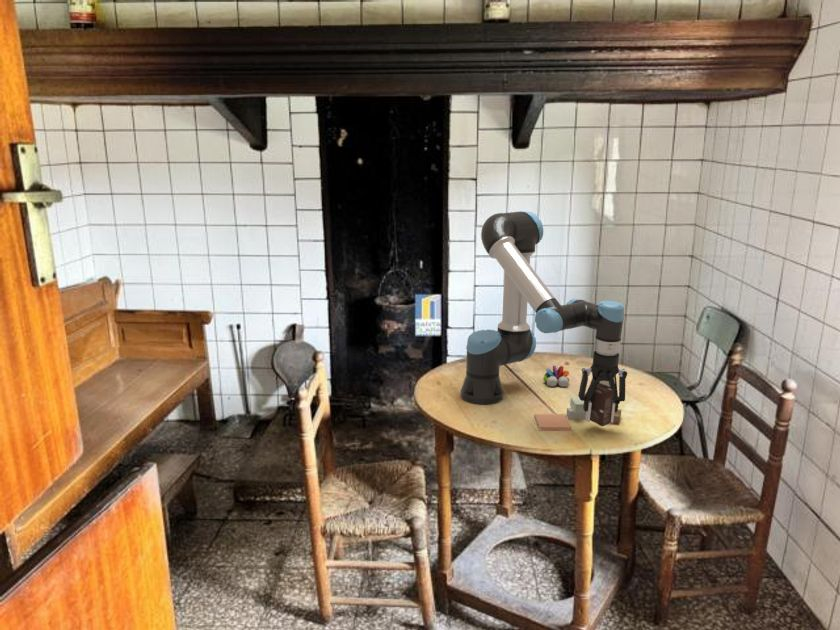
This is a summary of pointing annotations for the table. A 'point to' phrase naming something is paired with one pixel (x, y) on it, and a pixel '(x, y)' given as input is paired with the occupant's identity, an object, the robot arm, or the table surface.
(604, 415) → the box
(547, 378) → the rainbow disc rolling toy
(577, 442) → the table surface
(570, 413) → the grey brick
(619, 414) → the walnut brick
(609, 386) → the decorative object
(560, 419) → the tile
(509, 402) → the table surface
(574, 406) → the pale green brick
